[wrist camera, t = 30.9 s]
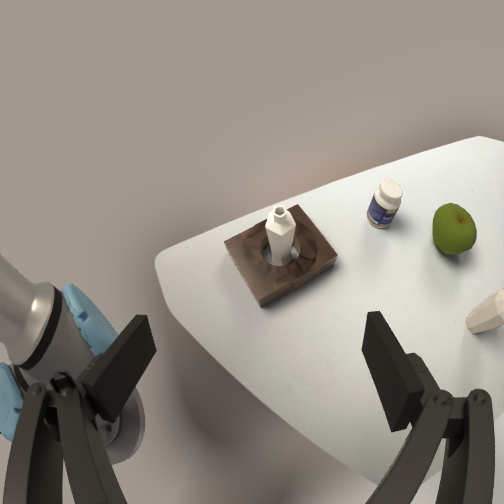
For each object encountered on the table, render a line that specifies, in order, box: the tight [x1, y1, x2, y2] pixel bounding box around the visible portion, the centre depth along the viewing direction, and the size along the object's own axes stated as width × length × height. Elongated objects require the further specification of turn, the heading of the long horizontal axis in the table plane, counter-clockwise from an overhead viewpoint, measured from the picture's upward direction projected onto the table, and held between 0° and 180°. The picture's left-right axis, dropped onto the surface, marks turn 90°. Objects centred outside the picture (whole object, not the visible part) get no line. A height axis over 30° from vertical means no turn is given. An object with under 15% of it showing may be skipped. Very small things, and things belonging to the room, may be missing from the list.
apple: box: [433, 203, 476, 255], centre depth 45 cm, size 11×10×10 cm
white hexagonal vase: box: [265, 206, 296, 267], centre depth 46 cm, size 5×4×15 cm
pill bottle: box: [367, 179, 403, 228], centre depth 50 cm, size 6×6×10 cm
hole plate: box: [224, 204, 337, 307], centre depth 51 cm, size 16×13×4 cm
